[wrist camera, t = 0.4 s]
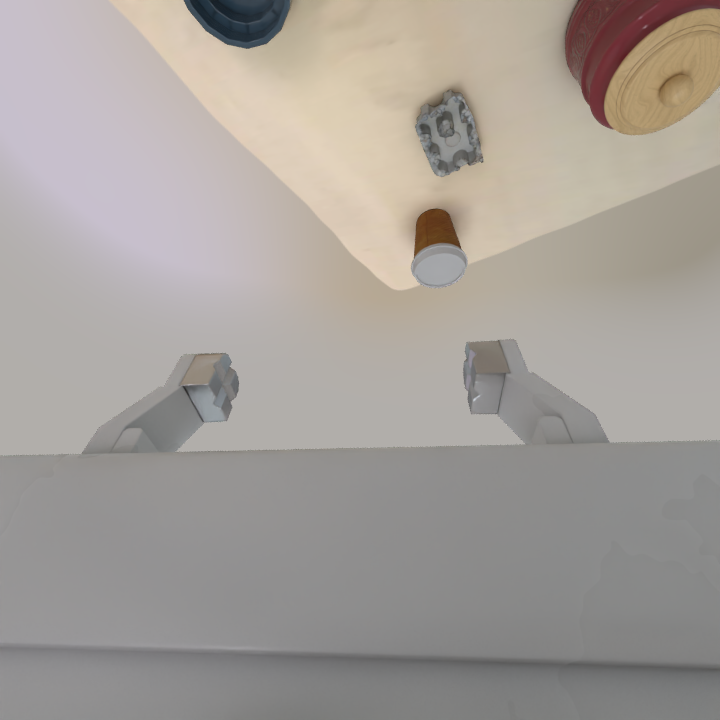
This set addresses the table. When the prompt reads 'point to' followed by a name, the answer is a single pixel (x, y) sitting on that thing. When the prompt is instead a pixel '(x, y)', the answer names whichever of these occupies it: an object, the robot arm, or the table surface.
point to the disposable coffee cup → (437, 251)
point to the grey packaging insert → (449, 135)
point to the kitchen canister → (644, 59)
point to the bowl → (241, 19)
